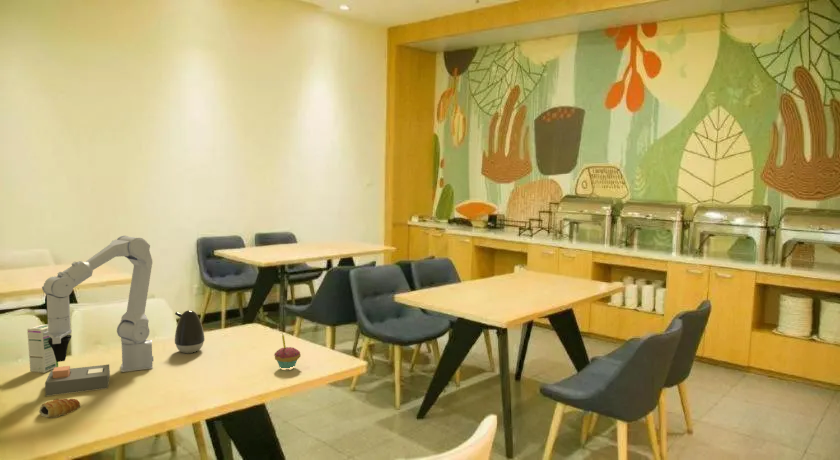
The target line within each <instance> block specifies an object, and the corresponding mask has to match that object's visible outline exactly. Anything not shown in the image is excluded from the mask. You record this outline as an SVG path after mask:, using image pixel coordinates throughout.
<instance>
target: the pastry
mask: <svg viewBox="0 0 840 460" xmlns="http://www.w3.org/2000/svg"><path fill="white" fill-rule="evenodd" d="M80 407H81V403H80V401H79V400H78V399H76V398H69V399H68V398H56V399H53V400H49V401H46V402H45V403H41V406H40V407H39V410H38V412H39V414H40V416H41V417H44V418H48V419H55V418H59V417H60V416H66V415H68V414H70V413H73V412H74V411H76V410H78V409H79V408H80Z"/></svg>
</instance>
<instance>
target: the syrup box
mask: <svg viewBox="0 0 840 460" xmlns="http://www.w3.org/2000/svg"><path fill="white" fill-rule="evenodd" d="M26 331H27V345H28V356H29V359H28V361H29V371H30V372H34V373H42V374H43V373H44V374H45V373H47V372H50V371H53V370H54V367H59V362H57V361H56V358H55V355H54V351H53V349H52V347H51V346H50V344H49V343H48V340H49V339H50V338H51V337H50V336H48V335H44V332H46V331H48V323H46V324H40V325H36V326H34V327H30V328H27V329H26Z"/></svg>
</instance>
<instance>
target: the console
mask: <svg viewBox="0 0 840 460" xmlns="http://www.w3.org/2000/svg"><path fill="white" fill-rule="evenodd" d="M98 368H103V373H96V374H87V373H88V370H89V369H98ZM110 372H111V371H110V364H101V365H93V366H91V365H90V366H81V367H75V368H73V367H72V368H70V376H69V377H61V378H53V370H49V374H48V376H47V378H46V380H45V382H44V386H45V391H44V392H45V397H48V396H56V395H65V394H73V393H81V392H89V391H97V390H105V389H108V388H109V384H110V383H109V382H110V377H111V374H110Z"/></svg>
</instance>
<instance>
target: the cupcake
mask: <svg viewBox="0 0 840 460" xmlns="http://www.w3.org/2000/svg"><path fill="white" fill-rule="evenodd" d="M281 334H282V335H281V338H282V345H283V347H281V348H279V349H278V350H276V352H274V355H273V356H274V360H276V362H277V364H278V366H279V368H280V367H281V368H290V367H293V366H296V364H297V361H298V360H299V359H300V358H301V352H300V351H299V350H298V349H296V348H295V347H292V346H286V340H285V334H283V332H281Z"/></svg>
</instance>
